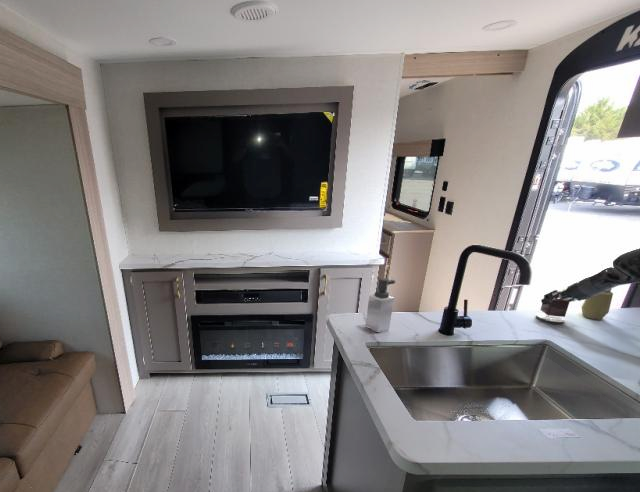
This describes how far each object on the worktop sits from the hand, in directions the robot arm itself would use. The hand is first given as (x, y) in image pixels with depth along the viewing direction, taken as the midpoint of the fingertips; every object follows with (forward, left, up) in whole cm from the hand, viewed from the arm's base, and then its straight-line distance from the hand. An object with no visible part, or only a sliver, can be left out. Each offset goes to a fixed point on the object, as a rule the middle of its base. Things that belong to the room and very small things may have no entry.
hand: (552, 302), depth 136 cm
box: (-1, +1, -5) cm, 5 cm away
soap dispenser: (+65, +33, -8) cm, 73 cm away
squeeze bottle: (-18, -9, -8) cm, 22 cm away
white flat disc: (-1, 0, -8) cm, 8 cm away
